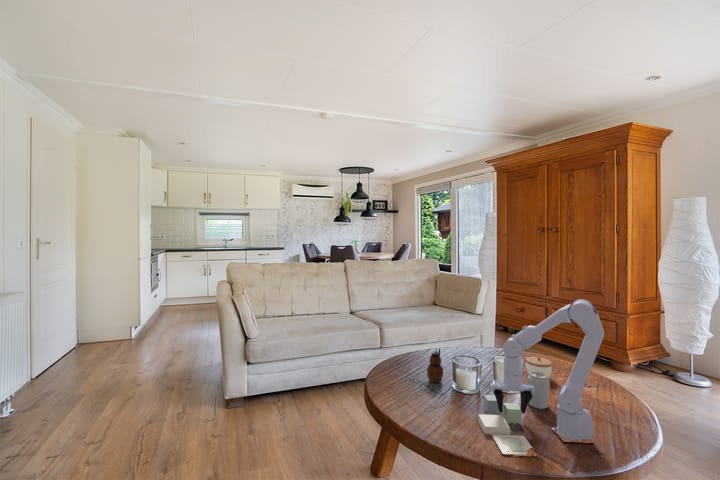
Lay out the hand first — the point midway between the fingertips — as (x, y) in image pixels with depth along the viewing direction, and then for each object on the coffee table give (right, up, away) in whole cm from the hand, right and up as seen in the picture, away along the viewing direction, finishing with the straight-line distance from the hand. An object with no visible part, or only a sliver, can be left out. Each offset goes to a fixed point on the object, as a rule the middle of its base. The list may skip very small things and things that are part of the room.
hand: (511, 411), depth 125 cm
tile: (-6, -3, -16) cm, 17 cm away
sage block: (0, -3, 0) cm, 3 cm away
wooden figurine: (-20, -2, +32) cm, 38 cm away
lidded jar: (+29, -3, +38) cm, 48 cm away
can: (+15, -3, +11) cm, 19 cm away
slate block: (-5, -3, +6) cm, 8 cm away
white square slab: (-8, -3, -6) cm, 11 cm away
